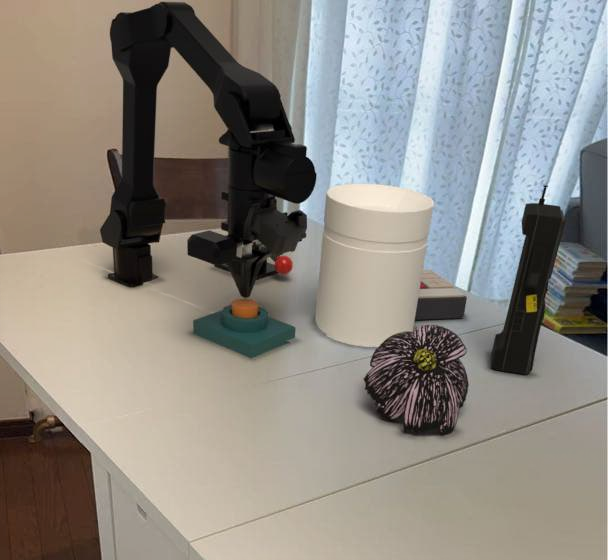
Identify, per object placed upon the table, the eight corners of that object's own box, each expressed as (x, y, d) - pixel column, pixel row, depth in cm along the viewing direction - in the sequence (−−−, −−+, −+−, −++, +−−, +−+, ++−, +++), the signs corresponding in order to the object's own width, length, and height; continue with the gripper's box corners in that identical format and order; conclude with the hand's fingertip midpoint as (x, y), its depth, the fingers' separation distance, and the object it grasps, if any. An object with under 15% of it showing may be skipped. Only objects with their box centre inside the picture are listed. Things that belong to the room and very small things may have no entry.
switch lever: (292, 276, 143) (298, 261, 141) (280, 280, 141) (287, 265, 139) (247, 233, 145) (253, 218, 143) (235, 236, 143) (241, 221, 141)
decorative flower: (354, 354, 97) (409, 288, 104) (334, 415, 107) (385, 350, 114) (459, 414, 95) (506, 342, 102) (429, 470, 105) (474, 401, 112)
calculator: (432, 267, 145) (468, 292, 133) (429, 291, 148) (464, 318, 136) (376, 268, 142) (408, 294, 130) (373, 292, 145) (404, 320, 133)
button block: (193, 333, 122) (193, 308, 120) (237, 317, 129) (238, 293, 126) (251, 358, 117) (252, 332, 114) (294, 340, 123) (296, 315, 121)
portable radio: (531, 379, 118) (578, 202, 103) (490, 373, 119) (531, 196, 104) (530, 358, 125) (574, 188, 110) (491, 352, 125) (530, 182, 110)
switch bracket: (283, 274, 147) (286, 224, 142) (254, 283, 142) (256, 232, 137) (243, 260, 152) (244, 212, 147) (214, 268, 147) (214, 219, 142)
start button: (226, 314, 120) (226, 302, 119) (244, 307, 123) (244, 296, 122) (245, 321, 118) (246, 310, 117) (263, 315, 121) (264, 304, 120)
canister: (301, 334, 125) (312, 200, 113) (331, 302, 138) (344, 178, 126) (400, 354, 122) (421, 219, 110) (422, 320, 134) (443, 194, 122)
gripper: (246, 210, 100) (242, 329, 109) (336, 189, 112) (326, 297, 121) (183, 190, 105) (185, 305, 114) (276, 172, 117) (270, 278, 127)
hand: (245, 296), depth 119 cm, fingers closed
